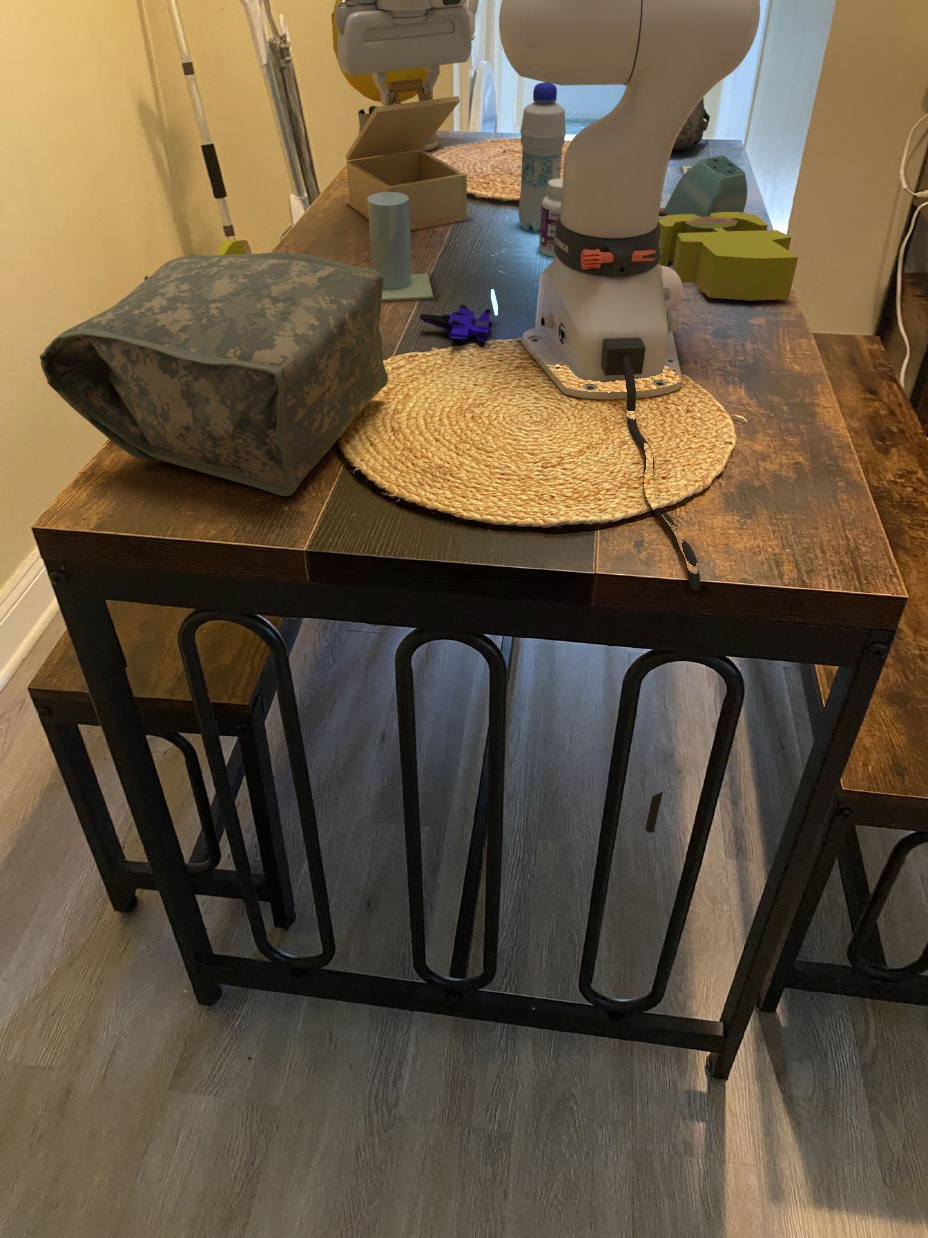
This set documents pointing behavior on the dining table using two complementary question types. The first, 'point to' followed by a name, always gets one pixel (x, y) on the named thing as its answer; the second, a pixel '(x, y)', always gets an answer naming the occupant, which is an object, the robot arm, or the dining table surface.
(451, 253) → the dining table surface
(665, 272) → the egg
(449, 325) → the toy spaceship
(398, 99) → the lid
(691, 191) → the flower pot
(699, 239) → the toy
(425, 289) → the mat
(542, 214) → the pill bottle
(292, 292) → the lunch bag
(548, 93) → the bottle
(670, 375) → the dining table surface
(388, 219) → the grey cylinder
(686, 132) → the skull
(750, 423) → the dining table surface
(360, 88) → the toy
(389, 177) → the chest
